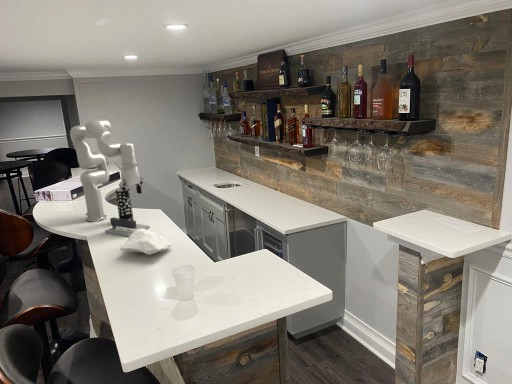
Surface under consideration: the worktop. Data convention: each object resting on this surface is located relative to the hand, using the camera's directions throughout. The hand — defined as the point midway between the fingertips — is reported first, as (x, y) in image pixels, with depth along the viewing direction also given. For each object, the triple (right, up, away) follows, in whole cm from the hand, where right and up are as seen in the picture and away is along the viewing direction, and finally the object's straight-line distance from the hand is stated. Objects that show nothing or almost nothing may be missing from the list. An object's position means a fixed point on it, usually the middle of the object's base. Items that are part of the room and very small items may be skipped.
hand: (133, 195), depth 220 cm
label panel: (-4, -20, +4) cm, 21 cm away
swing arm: (-6, -18, 0) cm, 19 cm away
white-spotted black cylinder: (-11, -17, +22) cm, 30 cm away
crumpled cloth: (+15, -27, -28) cm, 42 cm away
